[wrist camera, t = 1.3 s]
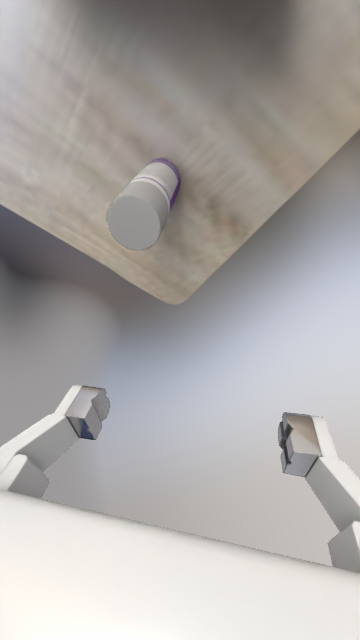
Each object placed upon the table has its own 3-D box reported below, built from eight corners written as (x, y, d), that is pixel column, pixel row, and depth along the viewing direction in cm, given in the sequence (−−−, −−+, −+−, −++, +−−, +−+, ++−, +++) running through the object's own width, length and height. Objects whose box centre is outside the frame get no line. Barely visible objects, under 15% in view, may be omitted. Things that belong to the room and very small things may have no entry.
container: (163, 207, 33) (138, 262, 22) (136, 179, 31) (94, 223, 20) (188, 180, 30) (174, 226, 19) (160, 147, 28) (127, 178, 17)
